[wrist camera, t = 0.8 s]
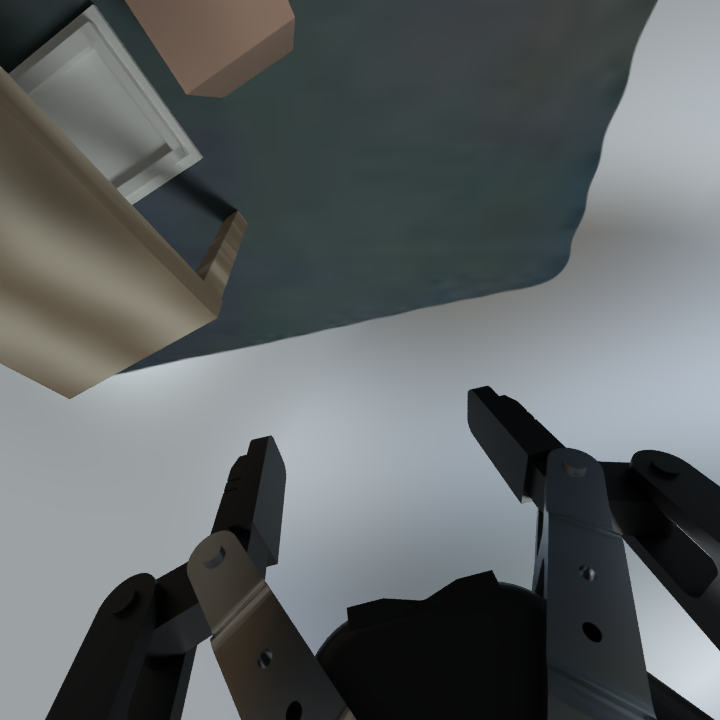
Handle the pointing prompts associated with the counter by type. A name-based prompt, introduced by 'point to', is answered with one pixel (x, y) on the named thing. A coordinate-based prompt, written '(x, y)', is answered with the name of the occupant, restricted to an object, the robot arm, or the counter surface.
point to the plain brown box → (217, 39)
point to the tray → (107, 106)
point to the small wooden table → (87, 262)
